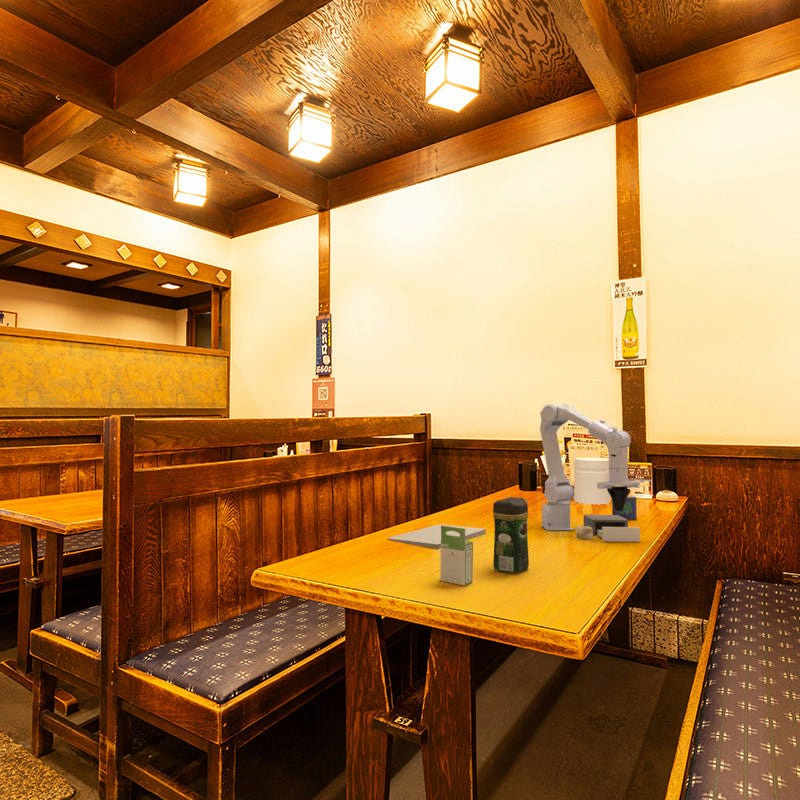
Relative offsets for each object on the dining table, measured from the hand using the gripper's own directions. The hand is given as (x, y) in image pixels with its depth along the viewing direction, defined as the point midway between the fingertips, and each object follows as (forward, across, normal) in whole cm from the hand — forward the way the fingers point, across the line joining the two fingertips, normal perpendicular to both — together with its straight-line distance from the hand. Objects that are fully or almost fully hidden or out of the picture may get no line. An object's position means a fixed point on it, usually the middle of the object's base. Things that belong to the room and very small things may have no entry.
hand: (618, 510), depth 174 cm
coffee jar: (+10, -49, -21) cm, 54 cm away
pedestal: (+10, -9, +6) cm, 14 cm away
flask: (+10, +25, +30) cm, 40 cm away
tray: (+10, +1, +3) cm, 10 cm away
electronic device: (+10, -55, +20) cm, 59 cm away
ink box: (+10, -66, -28) cm, 73 cm away
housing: (+10, +3, +11) cm, 15 cm away
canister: (+10, +39, +71) cm, 81 cm away
